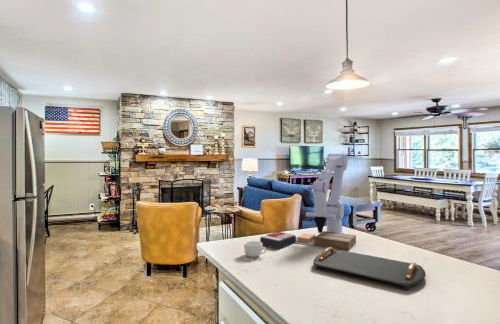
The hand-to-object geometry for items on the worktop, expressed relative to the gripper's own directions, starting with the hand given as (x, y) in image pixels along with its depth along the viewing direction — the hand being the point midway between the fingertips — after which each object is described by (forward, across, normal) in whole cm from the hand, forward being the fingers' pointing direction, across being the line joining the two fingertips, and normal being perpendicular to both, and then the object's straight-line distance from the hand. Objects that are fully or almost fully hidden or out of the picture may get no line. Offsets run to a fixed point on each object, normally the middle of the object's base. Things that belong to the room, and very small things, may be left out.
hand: (320, 232), depth 159 cm
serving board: (+6, +28, -28) cm, 40 cm away
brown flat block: (+5, +8, 0) cm, 9 cm away
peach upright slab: (+3, -7, 0) cm, 7 cm away
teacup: (+5, -16, -35) cm, 39 cm away
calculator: (+5, -16, -13) cm, 22 cm away
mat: (+5, -7, 0) cm, 9 cm away
